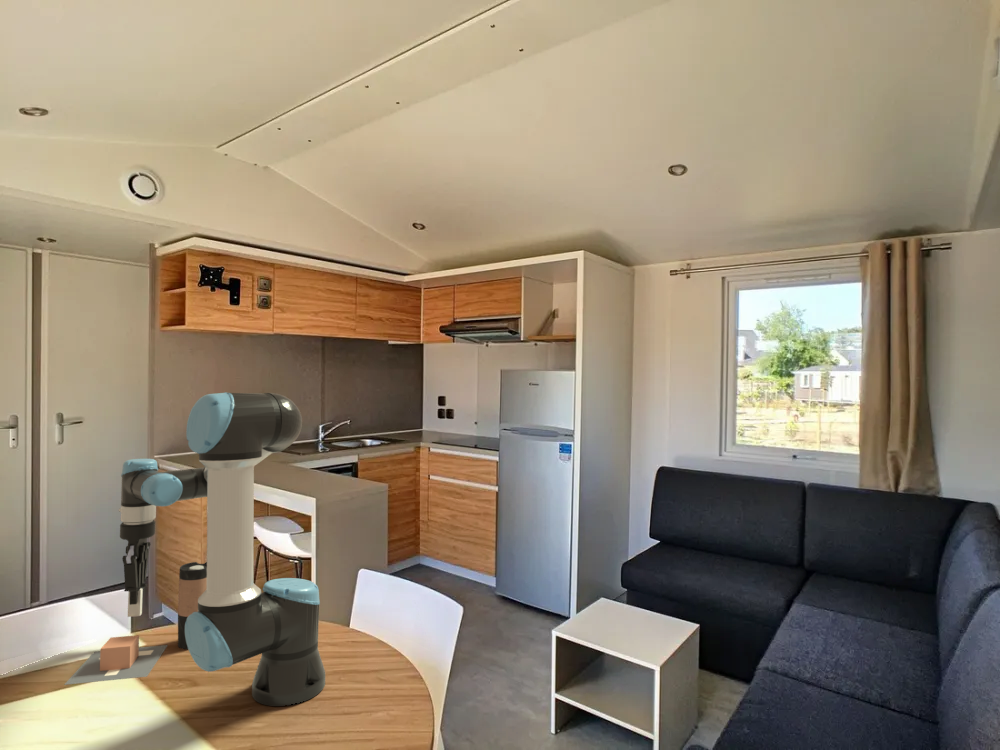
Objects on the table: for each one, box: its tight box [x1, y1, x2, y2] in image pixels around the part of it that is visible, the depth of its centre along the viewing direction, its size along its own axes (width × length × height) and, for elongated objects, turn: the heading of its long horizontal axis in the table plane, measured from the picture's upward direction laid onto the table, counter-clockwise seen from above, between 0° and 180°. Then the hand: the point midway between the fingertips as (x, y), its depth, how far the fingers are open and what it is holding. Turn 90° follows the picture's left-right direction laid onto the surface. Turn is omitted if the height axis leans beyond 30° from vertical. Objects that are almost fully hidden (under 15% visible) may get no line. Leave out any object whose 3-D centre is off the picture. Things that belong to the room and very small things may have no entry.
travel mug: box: [177, 561, 207, 650], centre depth 147 cm, size 8×8×20 cm
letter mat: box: [64, 644, 169, 686], centre depth 136 cm, size 16×16×1 cm
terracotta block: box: [99, 634, 140, 671], centre depth 136 cm, size 6×6×5 cm
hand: (134, 615), depth 146 cm, fingers closed
